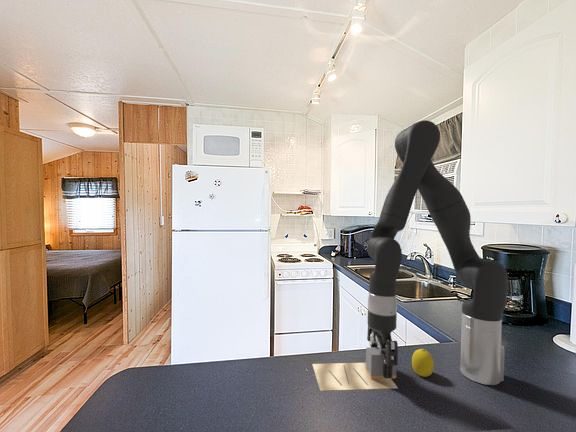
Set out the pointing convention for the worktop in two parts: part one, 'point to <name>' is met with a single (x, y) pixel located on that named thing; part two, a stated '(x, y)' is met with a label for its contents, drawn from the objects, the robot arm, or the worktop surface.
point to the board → (348, 377)
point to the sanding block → (376, 364)
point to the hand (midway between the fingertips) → (380, 368)
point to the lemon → (422, 363)
